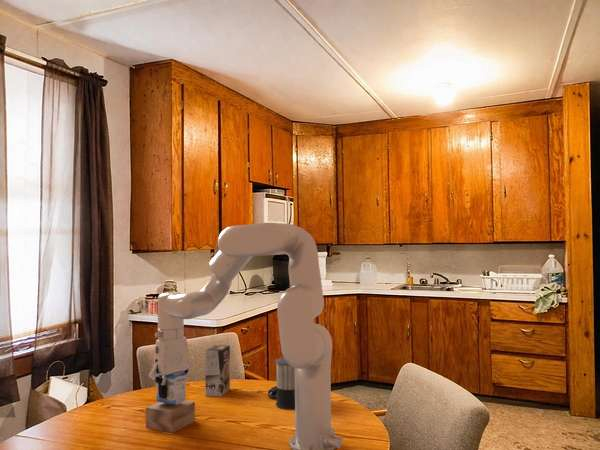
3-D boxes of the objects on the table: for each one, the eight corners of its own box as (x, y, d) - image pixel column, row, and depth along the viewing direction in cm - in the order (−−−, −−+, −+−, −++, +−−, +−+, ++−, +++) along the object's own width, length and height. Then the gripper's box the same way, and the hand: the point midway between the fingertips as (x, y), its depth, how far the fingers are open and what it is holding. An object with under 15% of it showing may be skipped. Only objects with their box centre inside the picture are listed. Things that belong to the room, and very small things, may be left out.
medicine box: (155, 401, 141) (155, 372, 141) (166, 397, 145) (166, 368, 145) (175, 405, 137) (175, 375, 137) (186, 400, 141) (186, 371, 141)
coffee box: (221, 396, 166) (221, 350, 166) (204, 395, 167) (204, 350, 168) (230, 389, 174) (230, 345, 175) (214, 388, 176) (214, 344, 176)
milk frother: (295, 411, 150) (294, 364, 151) (253, 404, 157) (253, 359, 158) (314, 398, 163) (313, 355, 163) (274, 392, 170) (274, 351, 170)
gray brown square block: (194, 421, 143) (194, 401, 143) (171, 433, 134) (171, 412, 134) (169, 416, 147) (169, 397, 148) (145, 428, 138) (145, 407, 139)
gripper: (153, 340, 133) (153, 405, 132) (201, 330, 146) (201, 390, 145) (138, 337, 137) (138, 400, 137) (186, 328, 151) (186, 386, 150)
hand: (171, 394), depth 141 cm, fingers closed on medicine box, 5 cm apart
